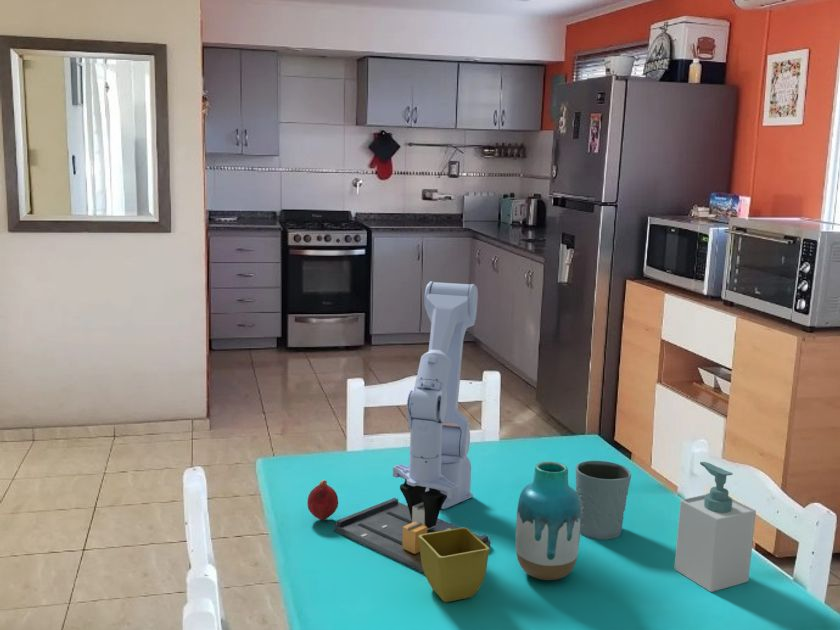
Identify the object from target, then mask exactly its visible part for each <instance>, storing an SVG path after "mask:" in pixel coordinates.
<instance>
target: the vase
mask: <svg viewBox="0 0 840 630" xmlns="http://www.w3.org/2000/svg"><path fill="white" fill-rule="evenodd" d="M533 474H534V475H533V481H532V482H531V483H529V484H527V485H525V487H523V488H522V490H521V491H520V493H519V497H518V503H517V509H516V510H517V511H516V521H515V522H516V523H515V551H516V553H515V554H516V558H517V561H518V562H517V563H518V564H519V566H520V567H521V569H522V570H523V571H524V573H526V574H527V575H529V576H531V577H533V578H535V579H539V580H543V581H556V580H561V579H563V578H565V577H567V576H568V575H569V574H570V573H572V572H571V571H572V570H574V567H575V565H576V562H577V559H578V554H579V547H580V539H581V534H580V527H581V507H580V499H579V496H578V494H577V492H576V489H574V488H572V486H571V487H570V486H569V469H568V467H567V466H566V465H565V464H562V463H560V462H557V461H542V462H538V463H537V464H536V465H535V466H534V473H533Z"/></svg>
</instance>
